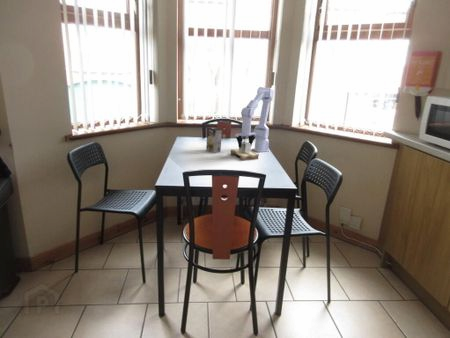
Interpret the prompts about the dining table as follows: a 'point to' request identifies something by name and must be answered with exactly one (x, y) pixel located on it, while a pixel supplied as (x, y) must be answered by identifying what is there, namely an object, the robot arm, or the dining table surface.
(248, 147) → the block
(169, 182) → the dining table surface
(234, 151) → the stand
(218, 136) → the coffee box
